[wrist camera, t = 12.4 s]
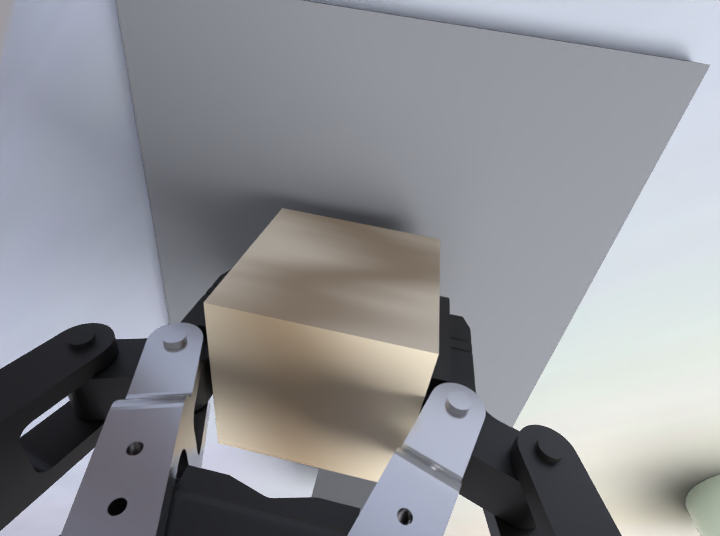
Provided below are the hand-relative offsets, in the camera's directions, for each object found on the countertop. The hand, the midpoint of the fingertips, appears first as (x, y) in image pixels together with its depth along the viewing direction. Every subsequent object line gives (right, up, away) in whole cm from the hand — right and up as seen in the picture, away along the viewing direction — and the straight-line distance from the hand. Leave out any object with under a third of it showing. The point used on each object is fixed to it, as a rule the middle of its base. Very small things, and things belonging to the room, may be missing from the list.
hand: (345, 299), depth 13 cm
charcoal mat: (0, +1, +2) cm, 3 cm away
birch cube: (0, 0, +1) cm, 1 cm away
